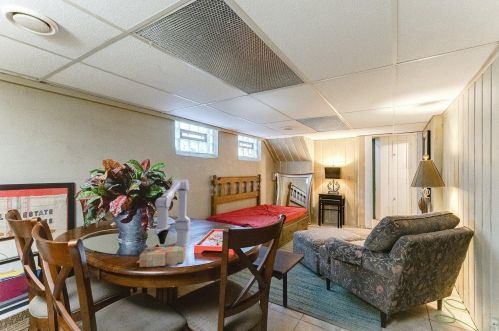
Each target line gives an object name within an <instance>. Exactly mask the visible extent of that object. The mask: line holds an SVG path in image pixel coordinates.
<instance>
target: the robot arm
mask: <svg viewBox="0 0 499 331" xmlns="http://www.w3.org/2000/svg"><path fill="white" fill-rule="evenodd" d="M189 191H190V182H189V180H188V178H187V179H172V182H171V186H170V188H169V189H166V191H165V192H164V193H163V194H162V195H161V196H160V197H158V198H157V199H155V203H154V205H155V208H156V209H155V210H156V212H157V214H156V215H157V216H156V218H157V219H156V227H154V229H153V234H154V235H156V236H157V238H158V242H159V245H165V243H166V239H167V236H168V234H169V232H170V231H169V230H168V229H171V224H169V208H170V206H171V203H172V200H173V199H174V198H175V193H176V192H177V193H178V195H179V200H178V201H179V202H178V203H179V204H178V217H177V218H175V219H174V220H175V221H174V224H173V227H174V230H175V232H176V243H175V244H174V245H173V246H186V247H187V246H188V245H189V244H191V243H192V241H191V232H190V230H191V228H192V222H191V218H190V217H189V216H187V209H188V208H187V206H188V203H187V202H188V192H189Z"/></svg>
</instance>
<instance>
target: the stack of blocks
mask: <svg viewBox="0 0 499 331" xmlns="http://www.w3.org/2000/svg"><path fill="white" fill-rule="evenodd" d="M186 247H187V246H174V245H172V246H147V247H145V248H144V249H143V250H142V252H141V253H140V254H139V260H140V263H139V268H151V267H160V266H161V267H162V266H163V267H164V266H166V265H167V264H166V263H177V264H178V263H179V264H181V263H184V262H185V259H186V255H187V254H186V249H187V248H186Z"/></svg>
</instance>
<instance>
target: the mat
mask: <svg viewBox="0 0 499 331" xmlns="http://www.w3.org/2000/svg"><path fill="white" fill-rule="evenodd" d="M135 263H136V264H140V259H139V260H137V261H136V262H135ZM165 265H172V266H174V265H175V266H176V265H178V263H166V264H165Z"/></svg>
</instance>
